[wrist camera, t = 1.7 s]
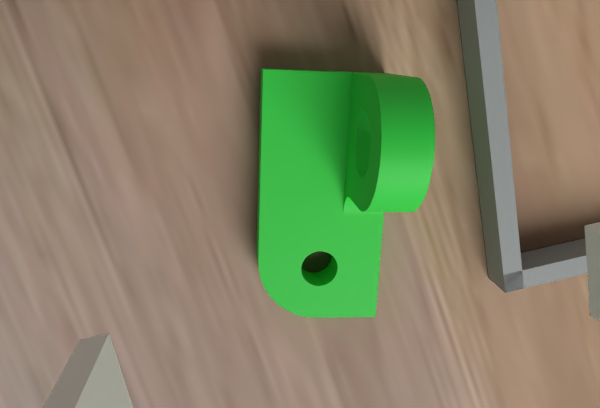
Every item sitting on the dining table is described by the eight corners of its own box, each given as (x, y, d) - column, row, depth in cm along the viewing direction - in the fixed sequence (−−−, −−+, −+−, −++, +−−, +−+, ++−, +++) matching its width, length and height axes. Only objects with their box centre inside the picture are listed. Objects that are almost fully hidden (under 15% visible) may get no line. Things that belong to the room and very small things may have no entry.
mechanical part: (260, 68, 27) (272, 74, 20) (383, 73, 28) (441, 80, 20) (255, 301, 30) (263, 386, 23) (366, 300, 31) (411, 381, 23)
